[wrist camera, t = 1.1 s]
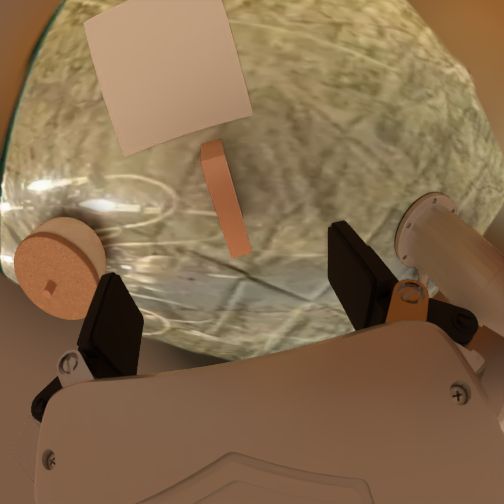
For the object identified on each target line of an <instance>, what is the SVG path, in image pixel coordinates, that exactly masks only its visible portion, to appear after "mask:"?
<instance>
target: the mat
mask: <svg viewBox="0 0 504 504" xmlns="http://www.w3.org/2000/svg"><path fill="white" fill-rule="evenodd" d="M84 27H85V31H86V36H87V40H88V44H89V48H90V52H91V56H92V59H93V63H94V67H95V70H96V74H97V77H98V81H99V84H100V87H101V90H102V94H103V97H104V100H105V103H106V106H107V109H108V112H109V115H110V118H111V121H112V124H113V127H114V130H115V132H116V135H117V138H118V141H119V143H120V146H121V149H122V151H123V154H124V156H125V157H127V156H130V155H132V154H134V153H137V152H139V151H142V150H144V149H147V148H149V147H152V146H155V145H157V144H160V143H163V142H166V141H168V140H171V139H174V138H177V137H180V136H183V135H186V134H189V133H192V132H195V131H198V130H202V129H205V128H208V127H212V126H215V125H219V124H222V123H226V122H230V121H233V120H237V119H241V118H245V117H249V116H253V112H252V108H251V104H250V100H249V96H248V92H247V88H246V84H245V81H244V77H243V73H242V69H241V66H240V62H239V58H238V55H237V51H236V47H235V44H234V40H233V37H232V33H231V30H230V26H229V23H228V19H227V16H226V13H225V9H224V6H223V3H222V0H128V1H126V2H124V3H121V4H119V5H117V6H115V7H112V8H110V9H108V10H106V11H104V12H102V13H100V14H98V15H96V16H94V17H92V18H91V19H89V20H87V21H85V22H84Z"/></svg>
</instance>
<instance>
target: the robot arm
mask: <svg viewBox="0 0 504 504" xmlns="http://www.w3.org/2000/svg"><path fill="white" fill-rule="evenodd" d="M395 249H396V254H397V256H398V258H399V259H400V260H401V262H402V263H403V264H405V265H406V266H408V267H412V268H417V269H418V275H419V278H418V281H415V280H410V279H406V280H402V281H398V280H397V278H396V277H395V276H394V275H393V273H392V272H391V271H390V270H389V268H388V267H387V266H386V265H385V264H384V262H383V261H382V260H381V259H380V257H379V256H378V255H377V254H376V253H375V252H374V250H373V249H372V248H371V247H370V246H368V245H366V244H365V242H364V241H363V240H362V239H361V238H360V237H359V236H358V234H357V233H356V232H355V231H354V230H353V229H352V228H351V226H350V225H349V224H348V223H347V222H346V221H344V220H343V221H339V222H334V223H332V225H331V227H328V279H329V282H330V284H331V286H332V288H333V290H334V291H335V293H336V295H337V297H338V299H339V301H340V302H341V304H342V306H343V308H344V310H345V312H346V314H347V315H348V317H349V319H350V321H351V323H352V325H353V327H354V329H355V331H354V332H351V333H347V334H344V335H341V336H337V337H334V338H330V339H326V340H323V341H319V342H315V343H312V344H308V345H304V346H301V347H297V348H293V349H289V350H285V351H280V352H276V353H272V354H267V355H263V356H258V357H253V358H249V359H244V360H239V361H234V362H229V363H223V364H217V365H212V366H206V367H199V368H193V369H186V370H179V371H172V372H164V373H155V374H145V375H137V366H138V358H139V351H140V344H141V337H142V331H143V324H144V319H143V316H142V314H141V312H140V311H139V309H138V307H137V306H136V304H135V302H134V300H133V299H132V297H131V295H130V294H129V292H128V290H127V288H126V286H125V285H124V283H123V281H122V279H121V277H120V276H119V275H116V274H115V273H114V272H112V273H108V274H104V275H102V276H101V278H100V281H99V283H98V286H97V288H96V291H95V293H94V296H93V298H92V301H91V304H90V306H89V309H88V312H87V315H86V317H85V320H84V323H83V326H82V329H81V332H80V335H79V338H78V342H77V345H78V346H79V348H78V351H77V350H69V351H67V352H65V353H64V354H63V355H62V356H61V357H60V358H59V360H58V362H57V365H56V372H57V375H58V376H57V377H56V378H55V379H54V380H53V381H52V382H51V383H50V384H49V385H48V386H47V387H45V388H44V389H43V390H42V391H41V392H40V393H39V394H38V395H37V396H36V397H35V399H34V400H33V403H32V406H31V412H32V417H30V416H29V417H28V418H27V420H26V422H25V424H24V425H23V427H22V429H21V430H20V432H19V434H18V436H17V437H16V439H15V441H14V443H13V449H12V450H13V455H14V457H15V459H16V460H17V461H18V463H19V464H20V465H21V467H22V468H23V469H24V471H25V472H26V473H27V474H28V476H29V477H30V478H31V479H32V481H33V482H34V483H35V504H504V256H503V254H501V253H500V252H499V251H498V250H497V249H496V248H495V247H494V246H493V245H491V244H490V243H489V242H488V241H487V240H486V239H485V238H484V237H482V236H481V235H480V234H479V233H478V232H477V231H475V230H474V229H473V228H472V227H470V226H469V225H468V224H467V223H466V222H464V221H463V220H462V219H460V218H459V217H458V216H457V212H456V207H455V205H454V203H453V201H452V200H451V199H450V198H449V197H447V196H446V195H444V194H442V193H436V192H435V193H430V194H428V195H425V196H423V197H422V198H421V199H419V200H418V201H417V202H416V203H414V204H413V205H412V206H411V208H410V209H409V210H408V211H407V213H406V214H405V216H404V218H403V219H402V221H401V223H400V226H399V228H398V231H397V234H396V240H395ZM429 278H430V279H431V280H432V281H433V283H434V284H435V285H436V286H437V287H438V288H439V290H440V291H441V292H442V293H443V294H444V295H445V297H446V298H447V299H448V301H449V302H450V303H451V304H448V303H445V302H442V301H438V300H435V299H431V298H429V293H428V290H427V285H428V279H429Z"/></svg>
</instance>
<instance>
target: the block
mask: <svg viewBox="0 0 504 504" xmlns="http://www.w3.org/2000/svg"><path fill="white" fill-rule="evenodd" d="M200 164H201V167H202V170H203V173H204V176H205V179H206V182H207V185H208V188H209V191H210V195H211V198H212V201H213V204H214V207H215V210H216V213H217V216H218V219H219V221H220V224H221V227H222V230H223V233H224V236H225V239H226V242H227V245H228V248H229V251H230V254H231V257H232V258H234V257H238V256H242V255H245V254H249V253H252V251H251V246H250V242H249V238H248V234H247V231H246V227H245V223H244V219H243V216H242V212H241V209H240V205H239V202H238V198H237V195H236V191H235V188H234V184H233V181H232V177H231V174H230V170H229V167H228V163H227V160H226V156H225V153H224V149H223V146H222V142H221V141H220V139H217V140H214V141H210V142H207V143H204V144H202V148H201V156H200Z"/></svg>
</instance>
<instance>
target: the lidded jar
mask: <svg viewBox="0 0 504 504" xmlns="http://www.w3.org/2000/svg"><path fill="white" fill-rule="evenodd" d="M14 268H15V273H16V277H17V279H18V282H19V284H20V286H21V287H22V289H23V291H24V292H25V294H26V295H27V296H28V297H29V298H30V299H31V301H32V302H34V303H35V304H36V305H37V306H38V307H40V308H41V309H42V310H44V311H45V312H47V313H49V314H51V315H53V316H56V317H59V318H63V319H69V320H76V319H81V318H84V317H86V315H87V312H88V309H89V306H90V304H91V301H92V298H93V296H94V293H95V291H96V288H97V286H98V283H99V281H100V278H101V276H102V275H104V274H106V256H105V251H104V248H103V245H102V243H101V241H100V239H99V237H98V236H97V234H96V233H95V232H94V231H93V230H92V229H91V228H90V227H89V226H88V225H87V224H85V223H84V222H82V221H80V220H78V219H75V218H70V217H58V218H54V219H50V220H48V221H46V222H45V223H43V224H41V225H40V226H38V227H37V228H36V229H35V230H34V231H33V232H32V233H31V234H30V235H29V236H27V237H26V238H25V239H24V240H23V241H22V242H21V243H20V245H19V246H18V248H17V250H16V252H15V257H14Z"/></svg>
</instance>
